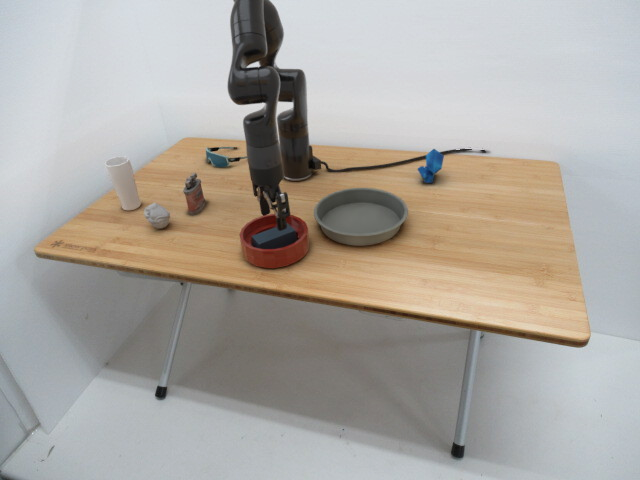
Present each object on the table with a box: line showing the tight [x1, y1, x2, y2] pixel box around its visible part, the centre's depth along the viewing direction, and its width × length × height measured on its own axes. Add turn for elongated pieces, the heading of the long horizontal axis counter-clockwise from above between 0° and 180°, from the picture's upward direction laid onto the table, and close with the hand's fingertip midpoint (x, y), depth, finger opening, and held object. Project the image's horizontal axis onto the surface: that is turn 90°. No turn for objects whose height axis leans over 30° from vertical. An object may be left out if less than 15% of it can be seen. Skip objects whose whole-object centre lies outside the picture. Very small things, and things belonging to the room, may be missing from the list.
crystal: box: [417, 148, 445, 184], centre depth 141 cm, size 7×9×12 cm
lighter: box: [182, 172, 206, 216], centre depth 134 cm, size 8×3×10 cm, turn 168°
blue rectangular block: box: [251, 223, 297, 249], centre depth 115 cm, size 10×4×4 cm, turn 122°
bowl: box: [239, 213, 310, 269], centre depth 115 cm, size 17×17×6 cm
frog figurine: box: [143, 202, 171, 230], centre depth 127 cm, size 6×7×7 cm
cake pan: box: [313, 187, 409, 247], centre depth 123 cm, size 25×25×4 cm
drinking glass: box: [104, 155, 142, 212], centre depth 136 cm, size 7×7×15 cm
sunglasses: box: [205, 146, 247, 168], centre depth 164 cm, size 14×15×5 cm
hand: (273, 221), depth 113 cm, fingers open, 8 cm apart
